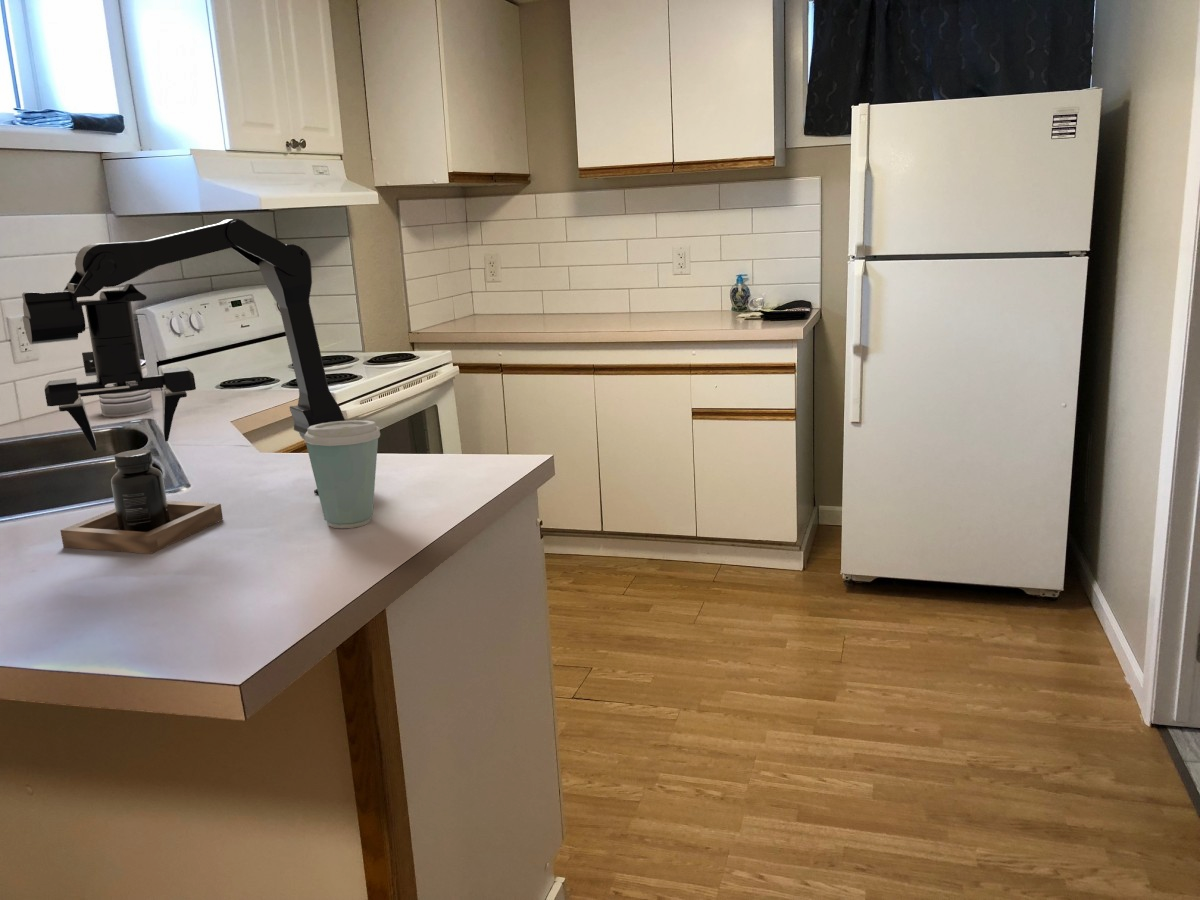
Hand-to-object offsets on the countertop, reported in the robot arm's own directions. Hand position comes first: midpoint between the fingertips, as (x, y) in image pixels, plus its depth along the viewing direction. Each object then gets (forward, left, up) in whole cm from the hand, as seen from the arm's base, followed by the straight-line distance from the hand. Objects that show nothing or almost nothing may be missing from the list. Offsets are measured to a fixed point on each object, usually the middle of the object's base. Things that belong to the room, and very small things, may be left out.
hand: (131, 445), depth 139 cm
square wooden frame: (0, 0, -13) cm, 13 cm away
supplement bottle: (0, 0, -13) cm, 13 cm away
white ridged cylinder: (+75, -78, -13) cm, 109 cm away
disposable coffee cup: (-28, -10, -13) cm, 33 cm away
